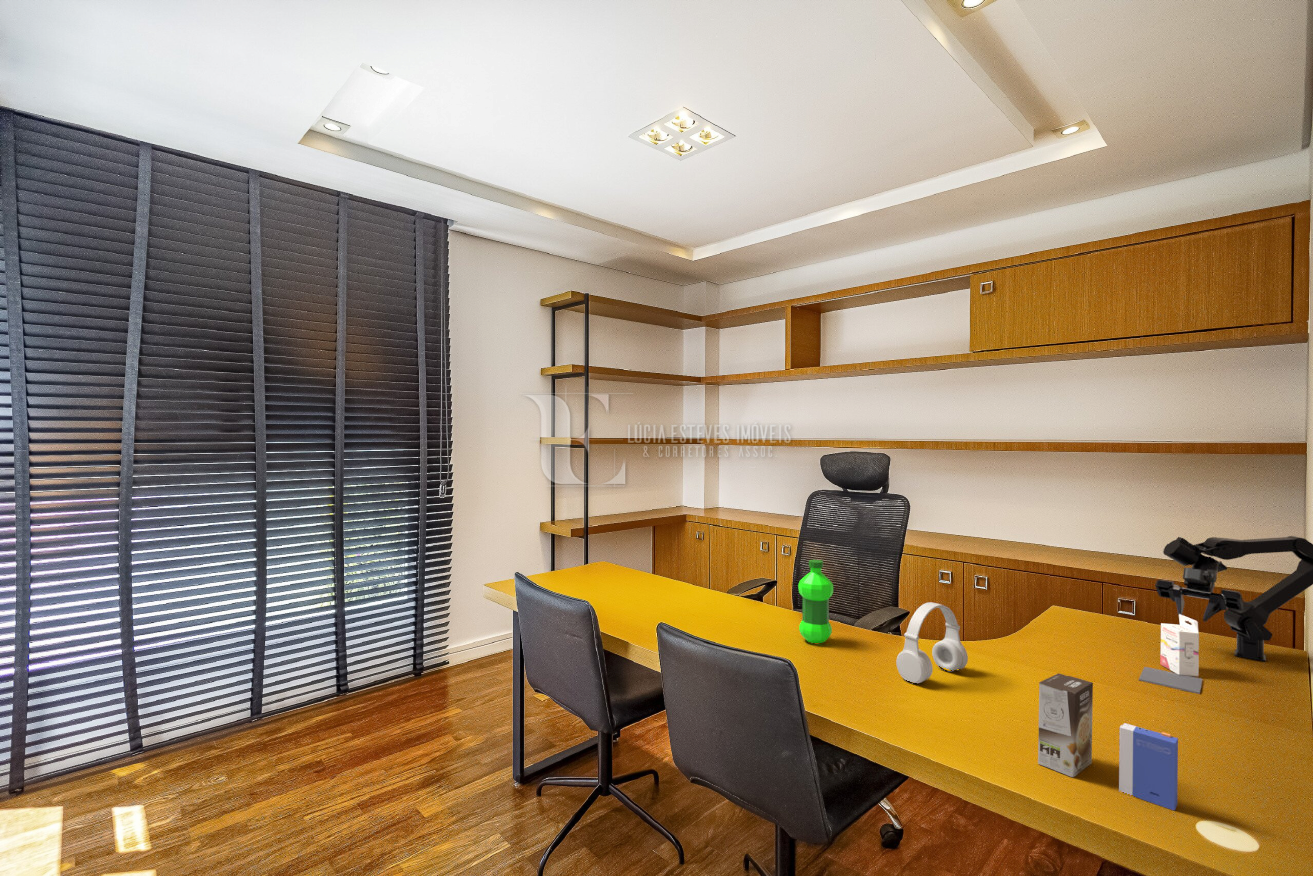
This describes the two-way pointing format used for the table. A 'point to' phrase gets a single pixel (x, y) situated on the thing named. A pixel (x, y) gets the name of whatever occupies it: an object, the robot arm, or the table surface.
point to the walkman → (1148, 765)
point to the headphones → (944, 652)
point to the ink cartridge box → (1180, 647)
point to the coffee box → (1065, 724)
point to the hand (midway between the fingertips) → (1191, 618)
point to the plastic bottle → (815, 604)
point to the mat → (1171, 680)
